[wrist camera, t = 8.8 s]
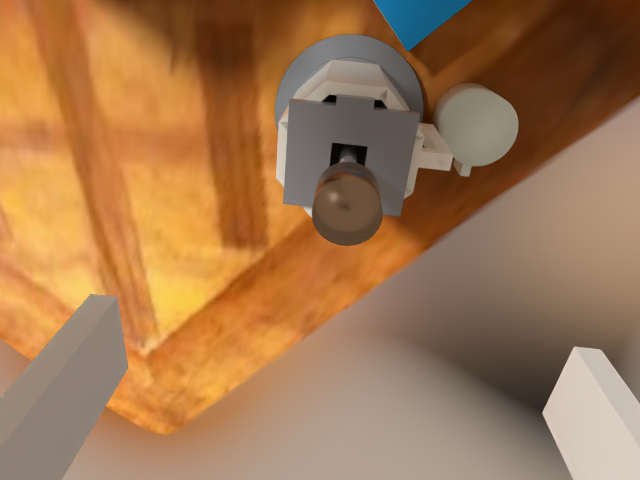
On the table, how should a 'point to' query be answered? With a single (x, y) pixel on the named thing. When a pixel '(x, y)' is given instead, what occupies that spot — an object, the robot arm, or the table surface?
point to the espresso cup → (475, 125)
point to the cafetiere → (354, 133)
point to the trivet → (350, 48)
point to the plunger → (347, 201)
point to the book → (417, 17)
